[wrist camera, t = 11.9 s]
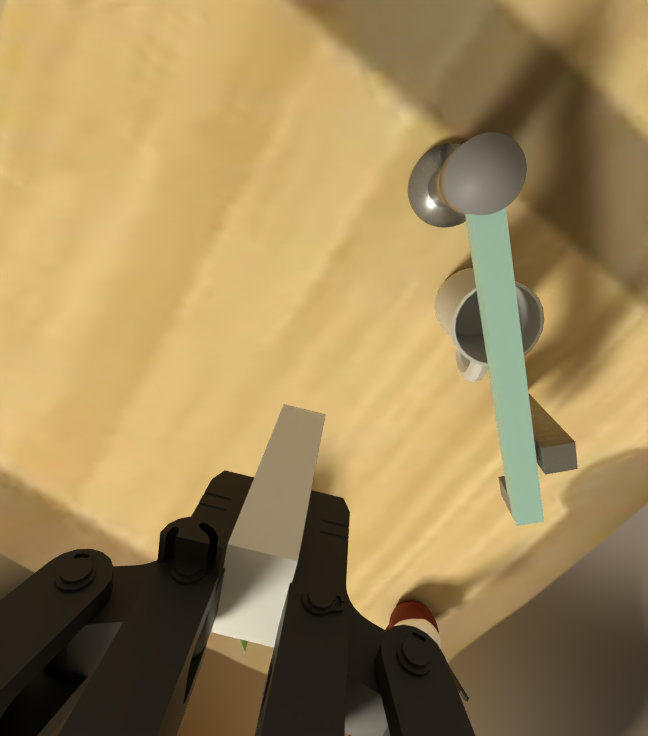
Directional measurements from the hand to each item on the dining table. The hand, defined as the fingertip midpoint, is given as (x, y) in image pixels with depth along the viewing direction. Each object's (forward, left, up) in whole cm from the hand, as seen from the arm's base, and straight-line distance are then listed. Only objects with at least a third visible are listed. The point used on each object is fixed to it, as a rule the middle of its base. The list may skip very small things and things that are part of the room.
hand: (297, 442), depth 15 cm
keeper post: (+2, +20, -30) cm, 37 cm away
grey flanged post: (-13, +5, -30) cm, 33 cm away
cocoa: (+35, +26, -30) cm, 53 cm away
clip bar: (-3, +13, -22) cm, 26 cm away
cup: (-3, +13, -30) cm, 33 cm away
